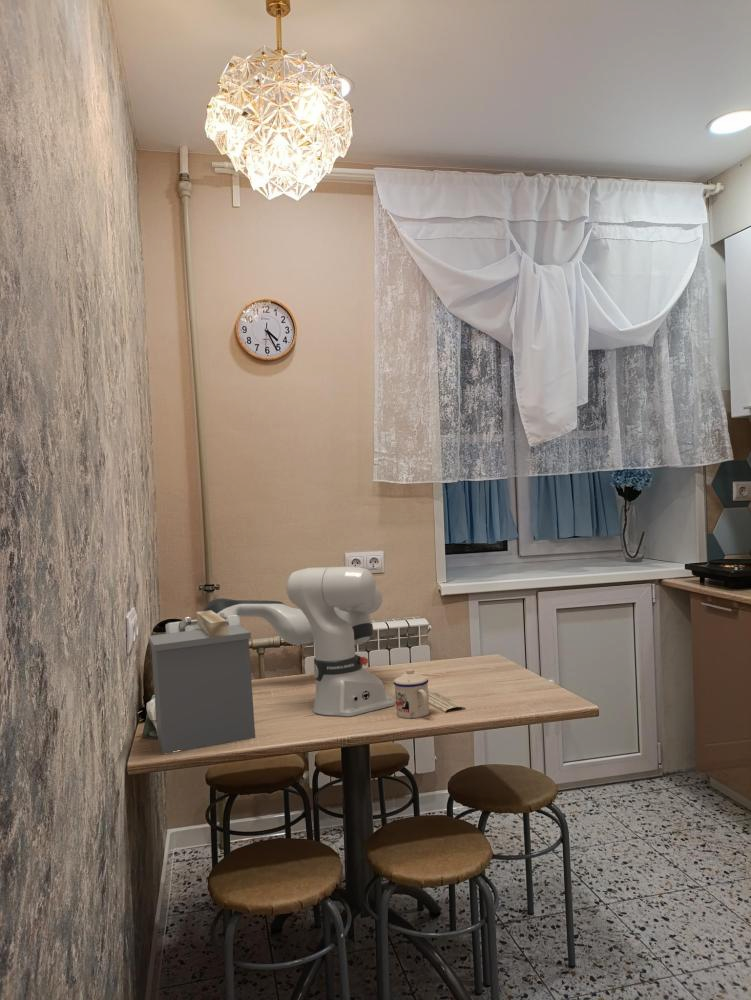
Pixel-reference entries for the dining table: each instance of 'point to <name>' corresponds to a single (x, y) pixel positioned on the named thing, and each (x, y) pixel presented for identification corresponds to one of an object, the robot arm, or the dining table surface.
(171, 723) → the cabinet
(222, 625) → the beech bar
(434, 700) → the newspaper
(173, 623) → the robot arm
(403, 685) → the teacup with lid
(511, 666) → the dining table surface
